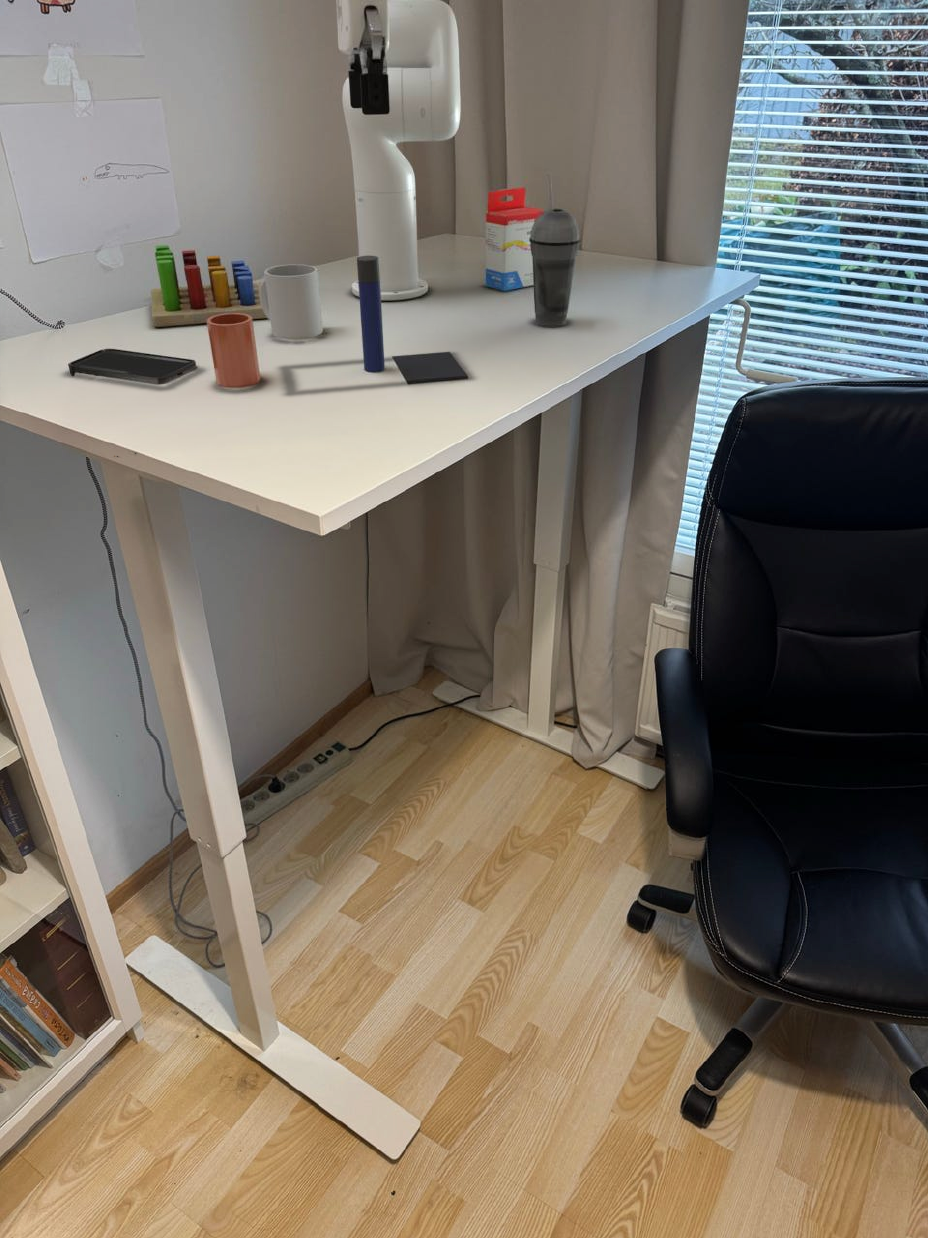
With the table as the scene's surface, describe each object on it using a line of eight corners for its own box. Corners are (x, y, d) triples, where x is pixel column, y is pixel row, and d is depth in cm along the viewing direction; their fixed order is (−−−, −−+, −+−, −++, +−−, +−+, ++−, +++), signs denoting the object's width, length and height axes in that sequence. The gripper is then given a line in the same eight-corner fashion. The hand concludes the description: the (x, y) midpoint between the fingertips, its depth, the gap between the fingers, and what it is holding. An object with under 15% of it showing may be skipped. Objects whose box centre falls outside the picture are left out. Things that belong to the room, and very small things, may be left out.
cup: (299, 346, 123) (292, 278, 118) (247, 334, 128) (238, 269, 123) (333, 333, 128) (328, 268, 123) (282, 322, 133) (275, 259, 128)
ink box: (503, 292, 147) (505, 195, 139) (484, 286, 151) (485, 191, 142) (541, 284, 152) (545, 189, 144) (522, 278, 155) (524, 185, 147)
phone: (105, 347, 119) (199, 360, 114) (107, 356, 120) (200, 368, 115) (63, 365, 113) (160, 379, 108) (65, 374, 114) (161, 388, 109)
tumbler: (217, 379, 112) (206, 314, 108) (259, 375, 113) (251, 311, 109) (217, 393, 108) (206, 326, 103) (262, 389, 109) (253, 323, 104)
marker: (362, 367, 114) (355, 255, 107) (382, 366, 115) (376, 254, 107) (366, 374, 112) (358, 260, 105) (386, 372, 113) (380, 259, 105)
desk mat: (284, 367, 116) (284, 364, 115) (449, 354, 120) (449, 351, 120) (291, 393, 108) (291, 390, 107) (467, 378, 112) (467, 375, 112)
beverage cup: (572, 330, 129) (582, 177, 118) (522, 328, 130) (527, 176, 119) (577, 317, 135) (587, 170, 124) (529, 314, 136) (535, 169, 125)
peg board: (273, 318, 135) (266, 258, 130) (154, 328, 131) (142, 267, 126) (260, 290, 149) (253, 235, 144) (152, 299, 145) (141, 242, 140)
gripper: (317, -61, 105) (330, 106, 115) (335, -74, 91) (348, 117, 101) (380, -61, 106) (387, 104, 116) (407, -73, 93) (413, 116, 102)
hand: (369, 110), depth 108 cm, fingers open, 9 cm apart
